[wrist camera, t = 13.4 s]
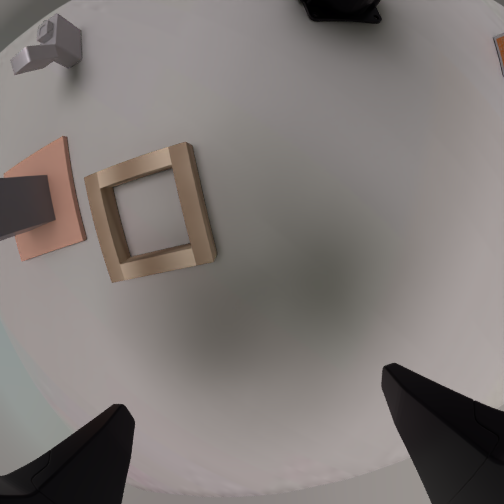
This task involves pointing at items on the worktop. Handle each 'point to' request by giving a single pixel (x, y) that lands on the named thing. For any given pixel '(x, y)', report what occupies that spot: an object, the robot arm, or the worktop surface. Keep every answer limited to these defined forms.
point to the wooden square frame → (191, 204)
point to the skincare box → (500, 49)
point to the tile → (63, 199)
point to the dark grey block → (24, 204)
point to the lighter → (51, 47)
